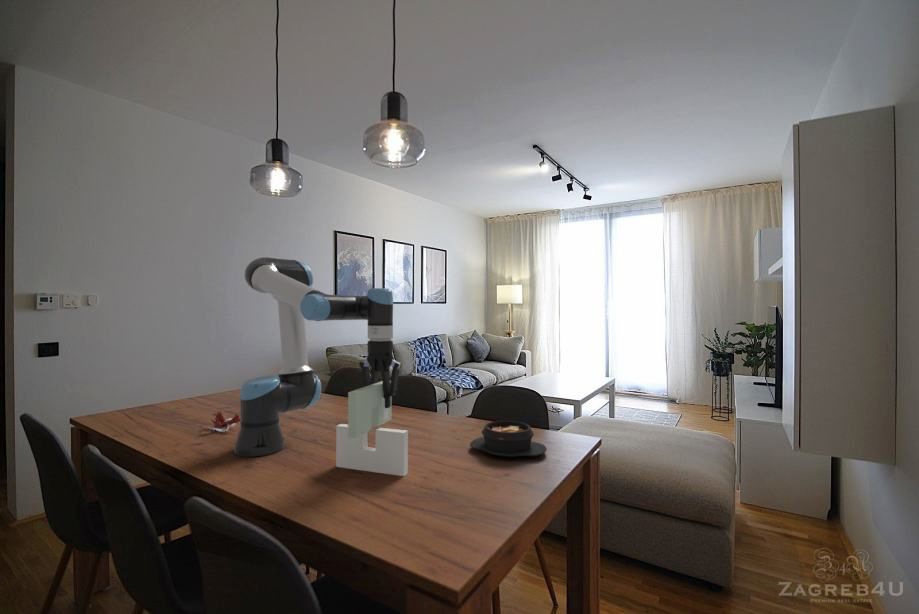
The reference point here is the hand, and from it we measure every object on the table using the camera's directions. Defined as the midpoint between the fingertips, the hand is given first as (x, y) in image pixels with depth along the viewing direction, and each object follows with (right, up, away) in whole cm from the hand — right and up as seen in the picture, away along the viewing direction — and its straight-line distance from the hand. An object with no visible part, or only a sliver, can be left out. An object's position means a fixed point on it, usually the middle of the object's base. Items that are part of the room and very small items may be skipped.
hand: (380, 418), depth 126 cm
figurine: (-67, -14, +35) cm, 76 cm away
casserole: (+39, -14, +11) cm, 43 cm away
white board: (-2, -14, -5) cm, 15 cm away
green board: (-2, -2, -5) cm, 5 cm away
